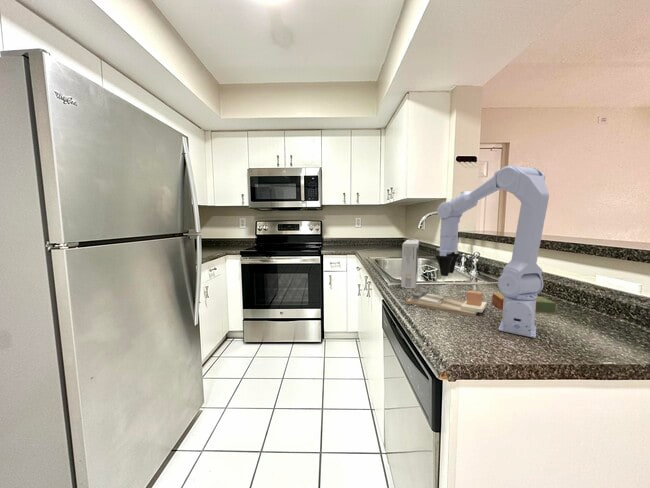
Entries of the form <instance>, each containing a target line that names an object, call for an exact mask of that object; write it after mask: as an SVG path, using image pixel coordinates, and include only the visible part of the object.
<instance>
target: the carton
mask: <svg viewBox="0 0 650 488" xmlns="http://www.w3.org/2000/svg"><path fill="white" fill-rule="evenodd" d="M502 294H503V293H494V292H493V293H492V297H491V303H492V304H493V306H495V307H496V308H497V309H498V310H499V311H503V301H504V296H503V295H502ZM535 314H547V315H548V314H550V315H557V304H556V302H554V301H553V300H550V299H549V298H547V297H544V296H538V295H537V297H536V309H535Z"/></svg>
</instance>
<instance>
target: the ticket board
mask: <svg viewBox="0 0 650 488" xmlns="http://www.w3.org/2000/svg"><path fill="white" fill-rule="evenodd" d="M465 301H466V300H462V299H456V298H449V297H448V296H445V295H438V294H432V293H429V290H427V289H421V290H419V291H417V292H416V293H414V294H412V296H410V298H408V299H407V300H406V299H405V303H407V304H406V305H408V304H412V305H411V306H414V305H417V306H416V307H419V306H422V307H421V308H424V307H426V309H431V310H435V311H441V312H446V313H452V314H456V315H462V316H467V317H472V318H475V317H476V316H477V314H478V313H479V312H475V311H469V310H464V309H461V305H462V304H463V303H464V302H465ZM405 303H404V304H405Z"/></svg>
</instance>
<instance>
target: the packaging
mask: <svg viewBox="0 0 650 488" xmlns="http://www.w3.org/2000/svg"><path fill="white" fill-rule="evenodd" d="M401 246H402V247H401V249H402V250H401V273H400V274H401V279H400V282H401V283H400V288H401V287H405V288H416V289H417V284H416V282H418V276H419V251H420V240H419V239H407V240H405V241H404V242H403V243H402V245H401Z"/></svg>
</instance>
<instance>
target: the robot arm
mask: <svg viewBox="0 0 650 488" xmlns="http://www.w3.org/2000/svg"><path fill="white" fill-rule="evenodd" d="M545 180H546V174H545V173H544V172H542V171H541V170H539V169H538V168H536V167H524V166H517V165H516V166H515V165H509V164H508V165H505V166H503V167H501V169H499V170H497V171H495V172H494V175H492V177H490V178H488V179H487V180H485V181H484V182H483V183H481V184H480V185H479V186H478V187H476V188H474V189H473V190H472V191H470V190H463V191H461V192H460V194H459V195H458V196H456V197H455V198H451V199H450V201H443V202H441V203H440V204H439V205H438V208H437V211H436V212H437V213H436V214H437V216H438V217H439V218H440V229H439V230H440V231H439V233H440V235H439V247H436V248H435V249H436V251H439V254H436V255H435V259H436V262H437V263H438V266H439V272H440V275H441V276H442V277H448V276H449V274H454V270H455V268H456V264H457V261H458V260H459V257H460V256H461V253H457V252H459V249H458V242H459V241H458V236H459V235H458V234H459V223H460V222H461V217H462V216H463V214H464V213H466V212H468V211H469V210H472V209H473V208H474V207H476V206H477V205H478V202H479V201H480V200H482V199H484V198H485V197H487V196H490V195H492V194H494V193H496V192H498V191H499V190H503V191H505V192H508V193H510V194H512V195H513V196H514V197H515V198H516V199H518V200H519V201H520V208H519V213H518V219H517V226H516V231H515V236H514V237H515V238H514V242H513V243H514V244H513V249H512V255H511V260H509V262H508V263H507V264H506V265H505V266H504V267H503V270H502V274H501V275H500V276H498V277H499V278H498V281H497V287H498V289H499V291H500V292H501V294H502V295H503V296H504V301H503V310H502V317H501V318H502V319H501V322H500V324H499V327H498V331H500V332H505V333H509V334H513V335H514V334H515V335H519V336H523V337H524V336H525V337H528V338H535V339H536V338H537V325H536V324H535V321H536V313H535V309H536V297H537V296H538V294H540V292H542V290H543V288H544V280H543V276H542V275H543V269H542V267H540V266H539V265H538V264H537V262H538V258H539V257H538V256H539V252H540V246H541V241H542V235H543V230H544V225H545V219H546V215H547V209H548V205H549V198H550V193H549V191H548V188H547V185H546V182H545Z"/></svg>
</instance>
